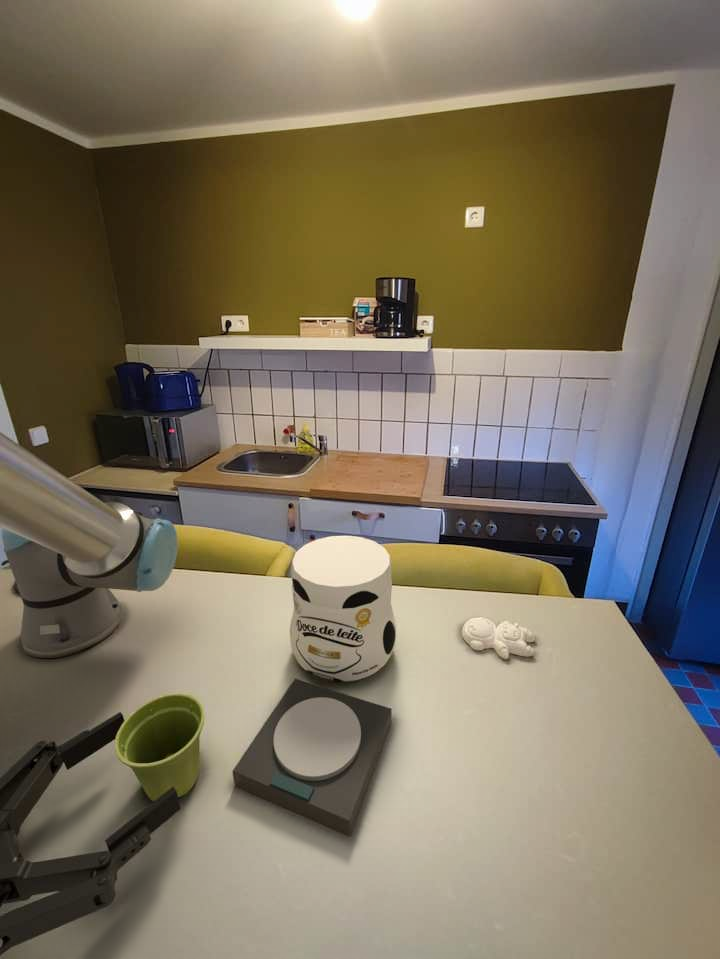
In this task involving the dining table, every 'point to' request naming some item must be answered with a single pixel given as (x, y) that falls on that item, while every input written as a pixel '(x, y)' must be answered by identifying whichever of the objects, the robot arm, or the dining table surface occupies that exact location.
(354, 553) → the milk container
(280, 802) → the scale
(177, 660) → the dining table surface
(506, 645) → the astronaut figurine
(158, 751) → the plant pot
